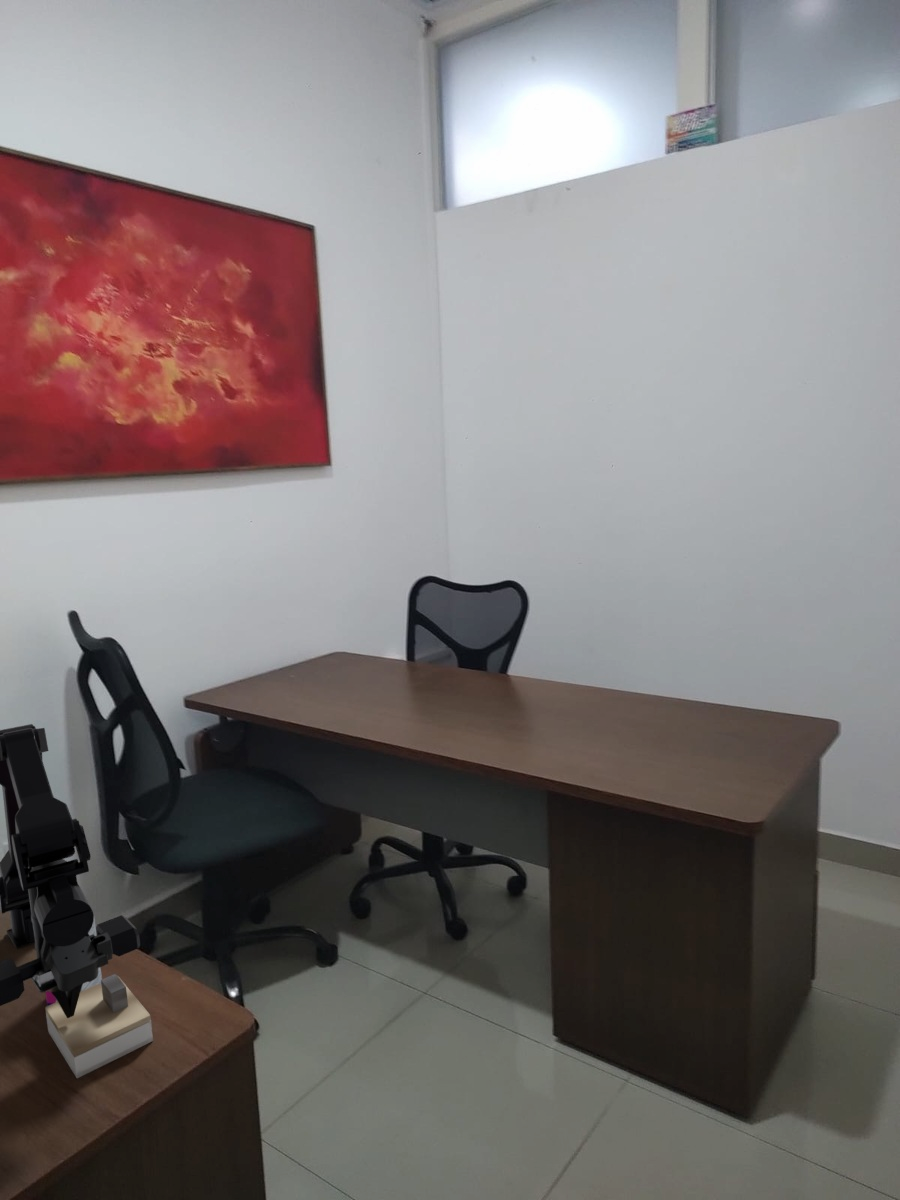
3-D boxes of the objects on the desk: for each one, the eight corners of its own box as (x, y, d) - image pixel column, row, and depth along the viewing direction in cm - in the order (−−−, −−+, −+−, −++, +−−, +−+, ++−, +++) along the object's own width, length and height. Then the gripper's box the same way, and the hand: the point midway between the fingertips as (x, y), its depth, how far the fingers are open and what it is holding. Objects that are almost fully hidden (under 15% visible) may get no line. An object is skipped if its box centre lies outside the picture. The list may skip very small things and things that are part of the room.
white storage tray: (48, 1032, 116) (45, 1012, 116) (120, 999, 123) (118, 981, 122) (76, 1078, 107) (74, 1057, 107) (153, 1040, 114) (150, 1021, 113)
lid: (45, 1012, 116) (42, 987, 115) (118, 980, 122) (115, 957, 121) (74, 1057, 107) (70, 1030, 106) (150, 1020, 113) (148, 995, 112)
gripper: (-8, 966, 97) (9, 1084, 100) (150, 905, 109) (161, 1012, 112) (-30, 927, 105) (-14, 1037, 108) (119, 875, 117) (130, 975, 120)
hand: (69, 1015), depth 112 cm, fingers closed
